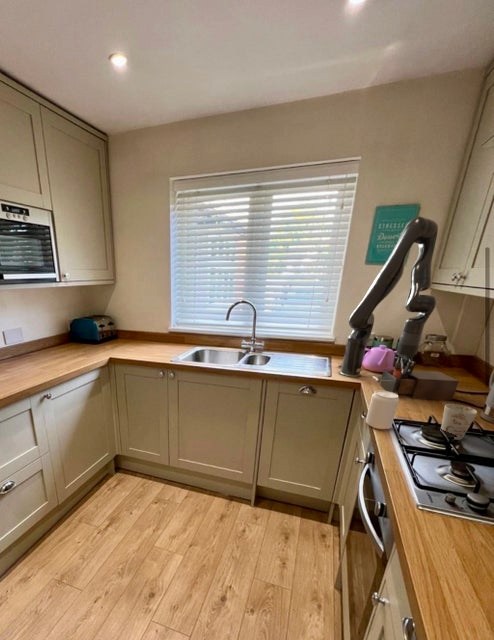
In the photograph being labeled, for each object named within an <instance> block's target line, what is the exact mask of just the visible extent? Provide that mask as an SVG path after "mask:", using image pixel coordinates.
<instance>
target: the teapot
mask: <svg viewBox="0 0 494 640" xmlns="http://www.w3.org/2000/svg"><path fill="white" fill-rule="evenodd" d="M366 351H367V352H366ZM395 354H398V353H397V350H393V349H390V348H387V345H384V344H380V345H379V347H378V346H377V347H371V349H370V348H366V350H365V354H364V358H363V362H362V367H363V368H364V369H366V370H368V371H370V372H377V373H383V371H387V372H388V373H390V372H394V367H393V361H394V355H395ZM395 365H396V364H395Z"/></svg>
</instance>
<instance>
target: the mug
mask: <svg viewBox="0 0 494 640" xmlns="http://www.w3.org/2000/svg"><path fill="white" fill-rule="evenodd" d="M477 414H478V411H477V410H476V409H475V408H473V407H470V406H467V405H462V404H457V403H446V404H445V405H444V409H443V414H442V420H441V425H440V430H441V429H442V430H444V431H446V432H449V433H452V434H454V435H456V436H457V437H454V439H453V440H456V441H457V440H459V441H461V440H462V439H463V438H464V436H465V435H466V433H467V431H468V430H469V428H470V426H471V425H472V423H473V421H474V420H475V418H476V417H477Z"/></svg>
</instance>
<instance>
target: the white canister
mask: <svg viewBox="0 0 494 640" xmlns="http://www.w3.org/2000/svg"><path fill="white" fill-rule="evenodd" d="M399 402H400V399H399V395H398V393H396V392H395V393H392V392H388V391H387V390H375V391H374V393H372V394H371V398H370V402H369V406H368V410H367V414H366V418H365V423H366V424H367V425H368V426H370V427H371V428H374V429H378V430H389V429H391V428H392V426H393V423H394V419H395V416H396V412H397V409H398V405H399Z"/></svg>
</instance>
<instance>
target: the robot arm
mask: <svg viewBox="0 0 494 640" xmlns="http://www.w3.org/2000/svg"><path fill="white" fill-rule="evenodd" d="M438 233H439V225H438V223H437V222H436V221H435V220H433V219H430V218H427V217H425V216H420V215H419V216H415V217H413V218H412V219H411V220H409V222H408V223H407V224H406V225H405V227H404V229H403V231H401V235H400V237H399V238H398V240H397V243H396V244H395V246H394V248H393V250H392V252H391V253H390V255H389V257H388V258H387V260H386V261H385V263H384V265H383V266H382V268H381V269H380V271H379V272H378V274H377V275H376V276H375V279H374V280H373V282H372V284H371V285H370V287H369V289H368V290H367V292H366V294H365V295H364V297H363V299H362V300H361V301H360V302H359V304H358V306H357V307H356V308H355V309H354V310H353V312H352V313H351V314H350V316H349V319H348V325H349V327H350V328H351V330H352V331H351V333H349V335H348V336H347V340H346V345H345V349H344V354H343V359H342V362H341V364H340V365H338V366H337V367H338V368H340V372H339V373H340V374H341V375H342V376H346V377H350V378H351V377H352V378H357V377H360V375H361V372H362V370H363V368H362V367H363V365H362V362H363V358H364V356H365V355H366V351H365V350H366V349H367V345H368V341H369V339H370V338H371V335H372V331H373V327H374V324H375V315H374V311H375V310H376V308H377V307H378V306H379V305H380V303H382V302H383V301H384V300H385V299H386V298H387V297H388V296H389V295H390V294H391V293H392V292H393V290H394V289H395V288H396V287H397V285H398V283H399V282H400V281H401V279H402V278H403V274H404V270H405V265H406V264H405V263H406V258H407V256H408V253H409V251H410V249H412V247H413V245H414V244H417V247H418V255H417V258H416V260H415V262H414V263H413V265H412V268H411V270H410V287H409V291H408V293H407V297H406V300H405V304H404V307H405V310H406V311H407V312H408V313H418V314H417V315H416V316H414V317H408V318H407V319H405V322H404V326H403V329H402V333H401V335H400V337H399V341H398V344H397V349H396V351H397V353H394V354H395V355H394V361H393V367H394V369H402V374H401V377H400V379H406V378H407V375H408V374H411V373H412V371H413V370H414V369H415V366H416V364H417V362H416V361H413V357H414V356H417V355H418V352H419V349H420V344H421V341H422V337H423V332H424V328H425V325H426V323H427V321H428V319H429V318H430V317H431V315H432V313H433V312H434V311H435V309H436V306H437V298H436V297H435V296H434V295H432V294H420V292H425V291H427V290H429V289H431V286H432V265H433V258H434V253H435V248H436V244H437V243H436V242H437V238H438ZM395 364H396V365H395ZM404 370H405V371H404ZM409 370H410V371H409ZM399 381H400V380H399Z"/></svg>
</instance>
